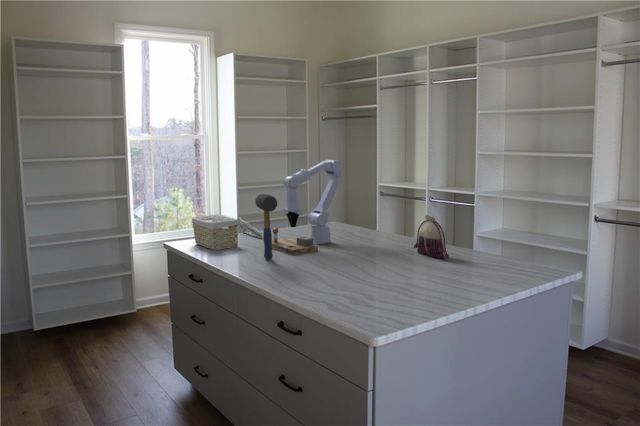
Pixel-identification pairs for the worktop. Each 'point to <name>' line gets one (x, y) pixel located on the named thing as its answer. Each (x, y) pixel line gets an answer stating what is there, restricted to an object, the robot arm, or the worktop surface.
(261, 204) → the rubber mallet
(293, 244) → the board
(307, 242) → the block
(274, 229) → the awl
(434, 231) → the pouch
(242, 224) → the gun
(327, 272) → the worktop surface
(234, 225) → the storage basket
